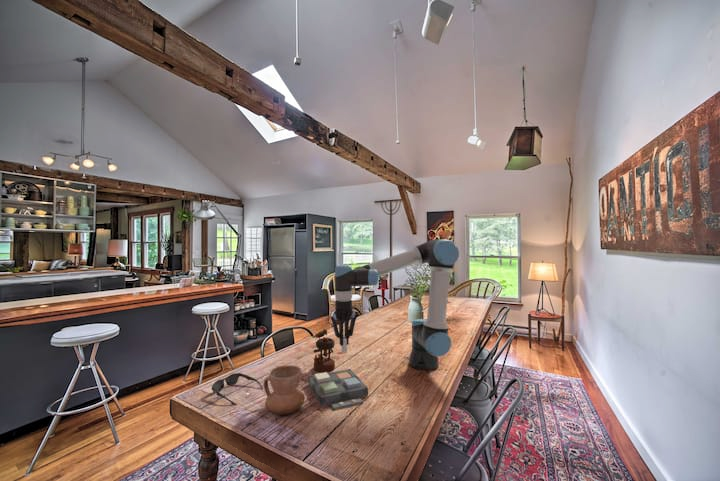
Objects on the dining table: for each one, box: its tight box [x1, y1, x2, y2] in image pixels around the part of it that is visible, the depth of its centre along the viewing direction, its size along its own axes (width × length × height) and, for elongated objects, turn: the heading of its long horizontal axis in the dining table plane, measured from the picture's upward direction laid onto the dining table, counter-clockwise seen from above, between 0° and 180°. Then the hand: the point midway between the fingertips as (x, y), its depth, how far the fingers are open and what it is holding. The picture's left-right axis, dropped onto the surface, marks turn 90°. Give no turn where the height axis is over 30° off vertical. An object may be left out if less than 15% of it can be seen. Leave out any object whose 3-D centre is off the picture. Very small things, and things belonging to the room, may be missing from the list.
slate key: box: [344, 377, 361, 389], centre depth 125 cm, size 6×6×2 cm
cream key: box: [314, 372, 330, 383], centre depth 130 cm, size 6×6×2 cm
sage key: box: [321, 382, 338, 394], centre depth 121 cm, size 6×6×2 cm
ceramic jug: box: [263, 365, 306, 416], centre depth 114 cm, size 18×14×14 cm
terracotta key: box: [336, 372, 352, 379], centre depth 134 cm, size 6×6×2 cm
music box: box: [311, 328, 336, 374], centre depth 150 cm, size 15×11×20 cm
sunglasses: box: [211, 372, 265, 406], centre depth 126 cm, size 16×17×5 cm
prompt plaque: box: [330, 398, 364, 411], centre depth 116 cm, size 12×3×1 cm, turn 113°
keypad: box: [307, 368, 369, 408], centre depth 127 cm, size 20×20×4 cm
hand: (344, 352), depth 134 cm, fingers closed
